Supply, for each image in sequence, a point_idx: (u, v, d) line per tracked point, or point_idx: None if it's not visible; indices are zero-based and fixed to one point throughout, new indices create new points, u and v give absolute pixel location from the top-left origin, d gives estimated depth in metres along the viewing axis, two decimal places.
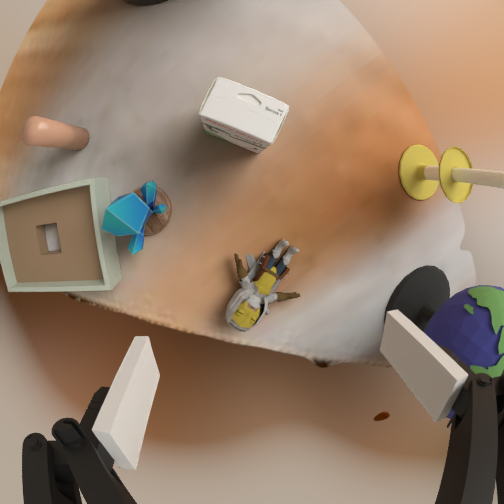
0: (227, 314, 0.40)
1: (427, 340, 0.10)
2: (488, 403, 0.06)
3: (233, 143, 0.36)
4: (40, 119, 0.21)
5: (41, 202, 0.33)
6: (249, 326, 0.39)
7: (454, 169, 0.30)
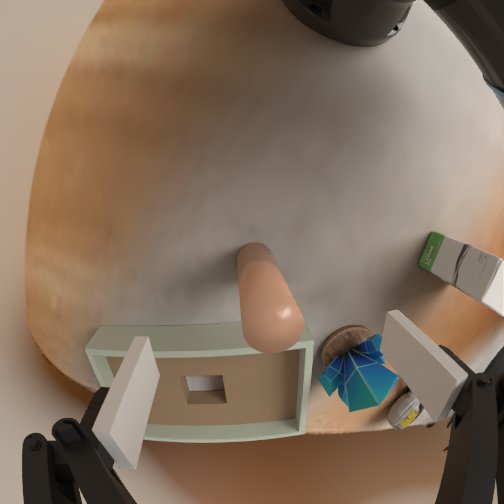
0: (394, 419, 0.34)
1: (427, 340, 0.10)
2: (489, 403, 0.06)
3: None
4: None
5: None
6: (408, 424, 0.33)
7: None
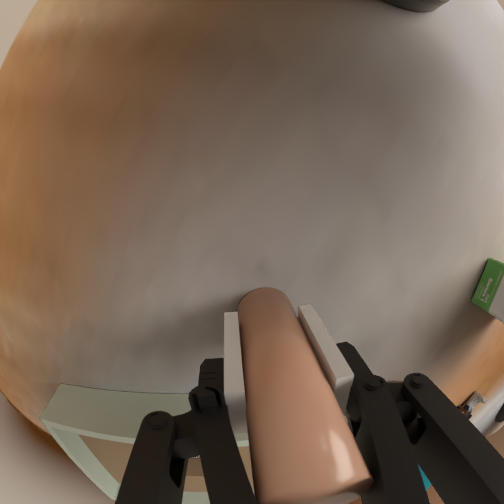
0: None
1: (325, 335, 0.12)
2: (386, 408, 0.07)
3: None
4: (368, 475, 0.05)
5: None
6: None
7: None
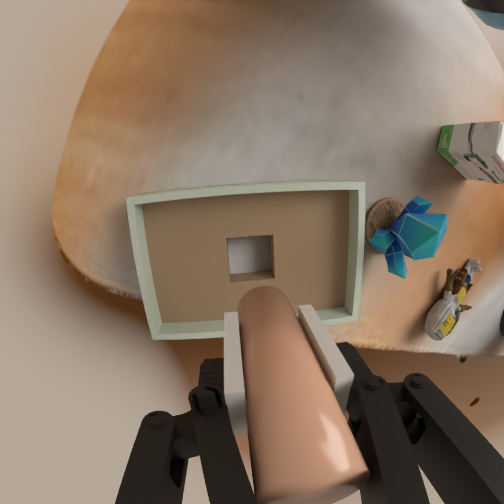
0: (434, 325, 0.34)
1: (325, 335, 0.12)
2: (386, 408, 0.07)
3: (454, 167, 0.31)
4: (364, 467, 0.06)
5: (245, 202, 0.28)
6: (446, 335, 0.34)
7: None
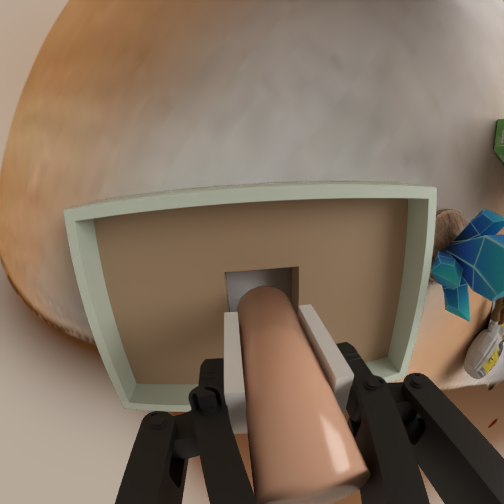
0: (477, 362, 0.23)
1: (325, 335, 0.12)
2: (386, 408, 0.07)
3: None
4: (364, 468, 0.06)
5: (256, 215, 0.17)
6: None
7: None
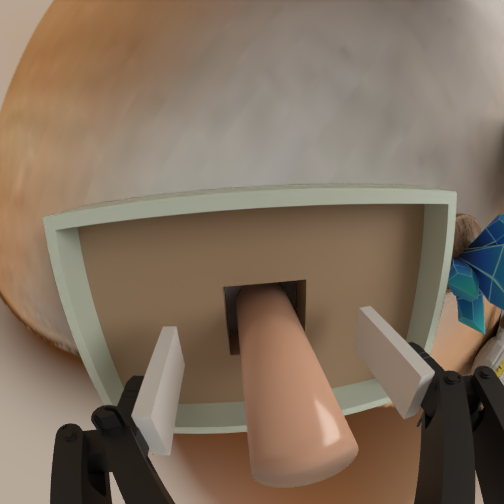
0: None
1: (396, 336, 0.11)
2: (459, 402, 0.07)
3: None
4: (352, 440, 0.07)
5: (258, 223, 0.15)
6: None
7: None
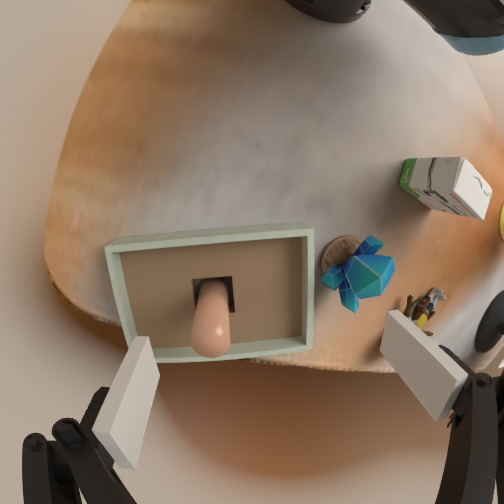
0: None
1: (428, 340, 0.10)
2: (488, 403, 0.06)
3: (418, 199, 0.36)
4: (225, 331, 0.23)
5: (206, 249, 0.32)
6: None
7: None
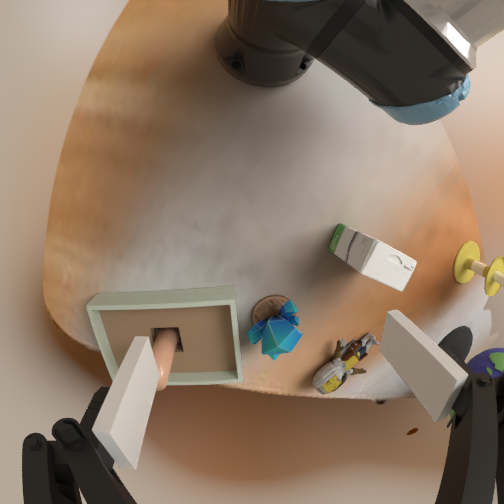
0: (318, 381, 0.46)
1: (427, 340, 0.10)
2: (488, 403, 0.06)
3: None
4: (162, 375, 0.32)
5: None
6: (330, 391, 0.46)
7: (495, 273, 0.37)
